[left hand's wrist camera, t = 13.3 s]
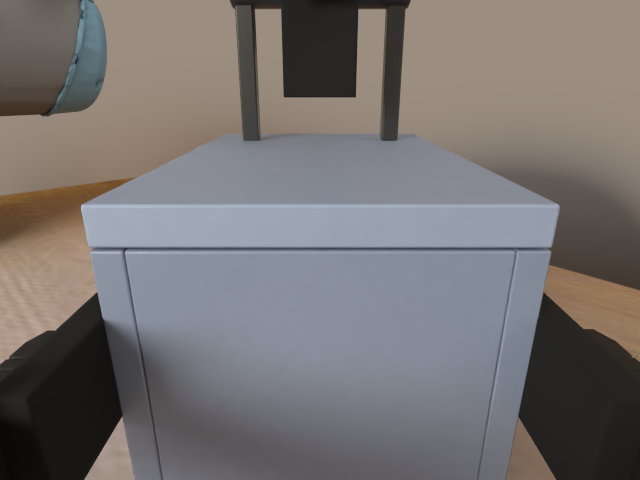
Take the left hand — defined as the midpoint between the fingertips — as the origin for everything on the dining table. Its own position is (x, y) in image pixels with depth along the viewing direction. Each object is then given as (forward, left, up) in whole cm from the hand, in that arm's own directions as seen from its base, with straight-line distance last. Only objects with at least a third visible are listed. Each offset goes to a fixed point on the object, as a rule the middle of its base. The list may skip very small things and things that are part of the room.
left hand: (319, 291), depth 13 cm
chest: (+2, -1, -7) cm, 8 cm away
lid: (+3, -2, +3) cm, 4 cm away
